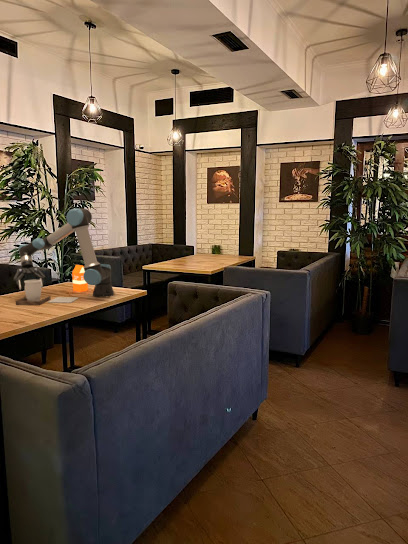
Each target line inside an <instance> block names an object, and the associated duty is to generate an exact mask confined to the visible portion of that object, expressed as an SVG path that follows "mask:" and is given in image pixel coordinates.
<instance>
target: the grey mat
mask: <svg viewBox="0 0 408 544" xmlns="http://www.w3.org/2000/svg"><path fill="white" fill-rule="evenodd" d="M78 299H80V297H75V296H74V297H72V296H71V297H69V296H67V297H65V296H64V297H63V296H62V297H61V296H57V297H55V298H52V299H51V300H49V301H47V303H48V304H49V303H50V304H72V303H73V302H76V301H77V300H78Z"/></svg>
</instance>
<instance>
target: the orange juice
mask: <svg viewBox="0 0 408 544" xmlns="http://www.w3.org/2000/svg"><path fill="white" fill-rule="evenodd" d="M84 272H85V271H84V265H80V264H75V267H74V269H72V272H71V273H72V291H73V292H79V293H82V292H88V291H89V284H88V283H86V282H85V280H84V277H83V275H84ZM87 290H88V291H87Z"/></svg>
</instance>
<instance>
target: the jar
mask: <svg viewBox="0 0 408 544" xmlns="http://www.w3.org/2000/svg"><path fill="white" fill-rule="evenodd" d="M23 282H24V294H25V297H26V298H27V301H40V300H41V296H42V288H41V284H40V282H41V280H40V279H34V278H33V279H27V280H24V281H23Z"/></svg>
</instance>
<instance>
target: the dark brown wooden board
mask: <svg viewBox="0 0 408 544" xmlns="http://www.w3.org/2000/svg"><path fill="white" fill-rule="evenodd" d="M51 300H52V298H51V296H49V295H48V296H47V297H44V298H42V299H40V301H28V300H27V298H26V296H24V297H22V298H19V299H18V300H15V305H16V306H40V305H43V304H44V303H48V302H49V301H51Z"/></svg>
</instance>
